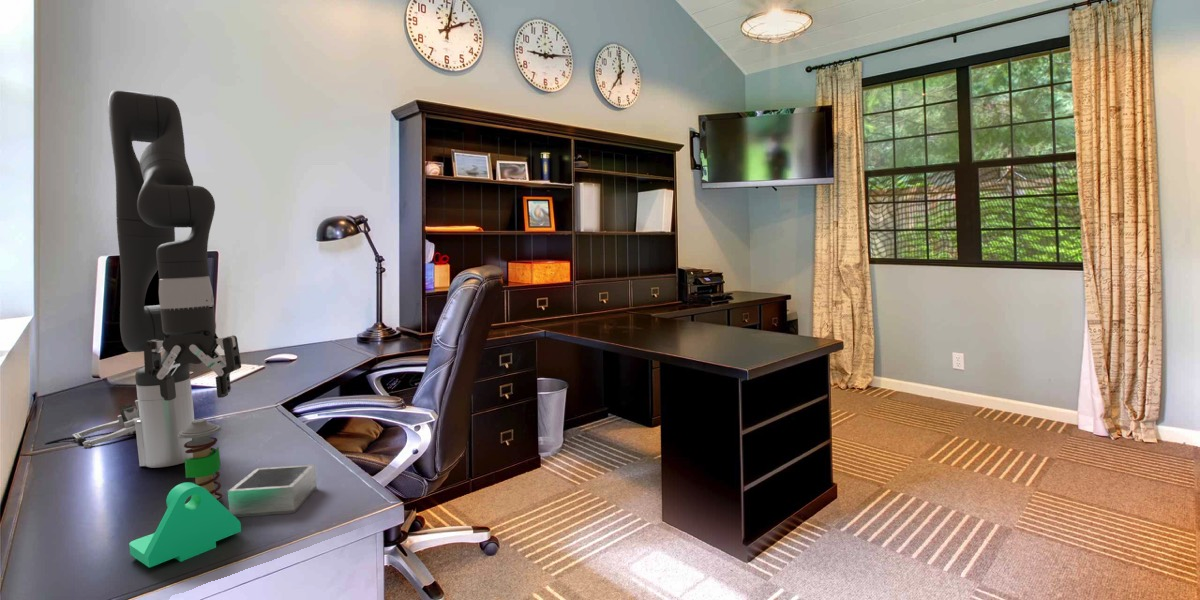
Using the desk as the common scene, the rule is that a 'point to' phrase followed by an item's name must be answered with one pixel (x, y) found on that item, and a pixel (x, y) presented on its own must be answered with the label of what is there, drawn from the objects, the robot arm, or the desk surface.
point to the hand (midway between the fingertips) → (196, 398)
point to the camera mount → (186, 527)
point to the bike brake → (127, 418)
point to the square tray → (272, 491)
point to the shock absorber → (202, 455)
